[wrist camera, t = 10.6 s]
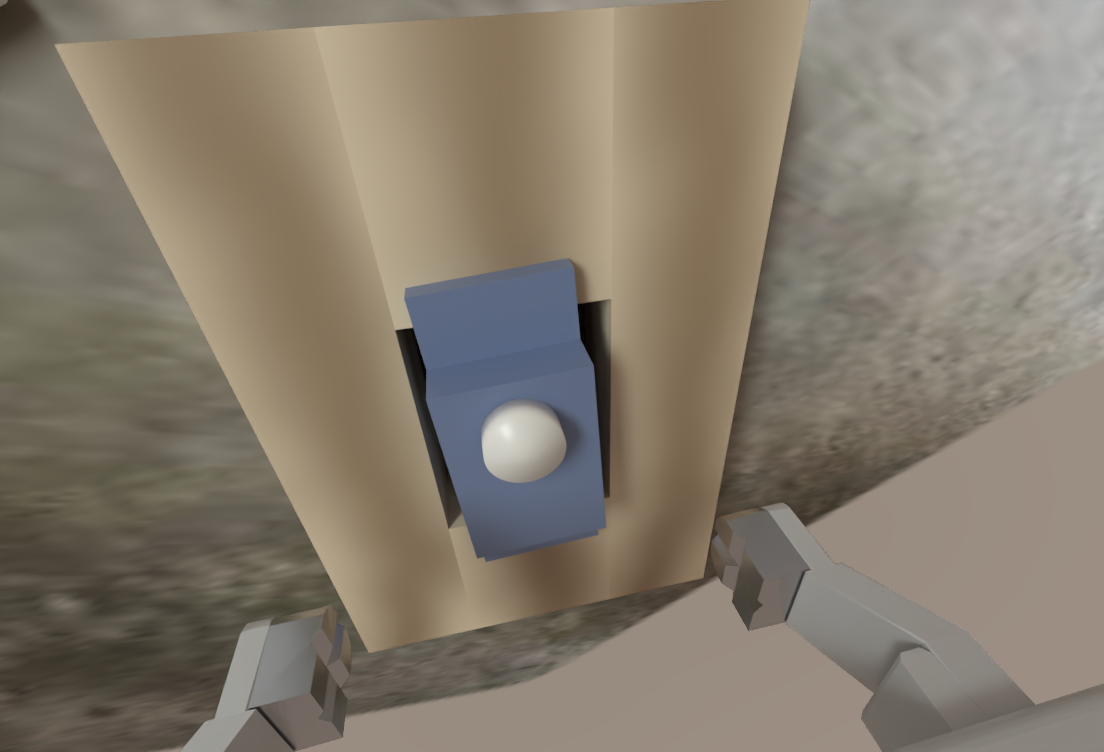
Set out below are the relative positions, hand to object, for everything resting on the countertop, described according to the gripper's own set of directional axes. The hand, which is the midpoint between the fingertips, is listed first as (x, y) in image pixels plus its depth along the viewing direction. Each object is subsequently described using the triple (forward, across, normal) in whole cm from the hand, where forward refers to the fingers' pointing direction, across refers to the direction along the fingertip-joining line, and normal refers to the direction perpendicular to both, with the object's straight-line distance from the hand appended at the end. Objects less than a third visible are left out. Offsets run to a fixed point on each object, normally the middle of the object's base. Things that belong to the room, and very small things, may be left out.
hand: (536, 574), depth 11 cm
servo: (+8, 0, 0) cm, 8 cm away
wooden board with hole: (+8, 0, 0) cm, 8 cm away
